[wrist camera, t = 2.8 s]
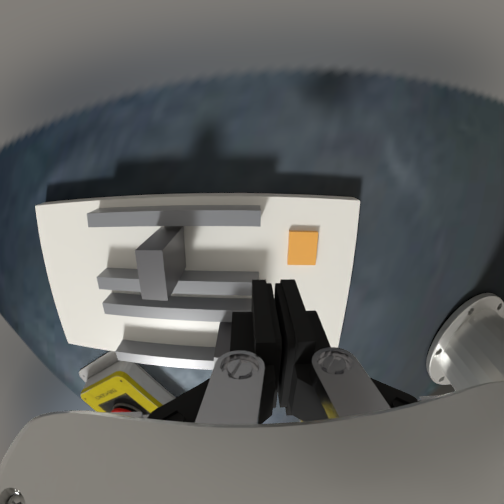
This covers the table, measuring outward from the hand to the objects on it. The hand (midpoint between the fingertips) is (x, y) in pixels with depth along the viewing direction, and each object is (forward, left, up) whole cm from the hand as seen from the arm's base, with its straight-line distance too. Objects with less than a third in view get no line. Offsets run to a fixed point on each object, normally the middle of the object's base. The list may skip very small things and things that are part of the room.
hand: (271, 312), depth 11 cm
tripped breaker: (+6, 0, -9) cm, 11 cm away
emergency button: (+13, +20, -12) cm, 27 cm away
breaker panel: (+6, +4, -11) cm, 13 cm away
